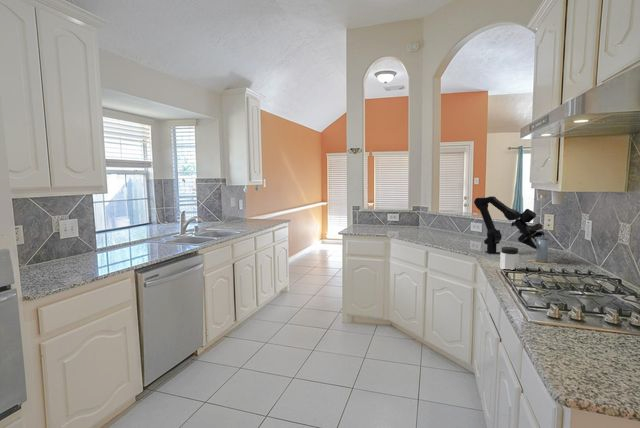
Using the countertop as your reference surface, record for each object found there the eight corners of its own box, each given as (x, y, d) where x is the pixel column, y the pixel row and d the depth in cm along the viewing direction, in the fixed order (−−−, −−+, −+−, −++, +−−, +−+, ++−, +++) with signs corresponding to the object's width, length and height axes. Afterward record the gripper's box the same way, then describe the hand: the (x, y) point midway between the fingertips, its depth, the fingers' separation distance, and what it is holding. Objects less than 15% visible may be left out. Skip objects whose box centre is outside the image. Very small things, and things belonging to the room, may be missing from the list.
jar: (512, 272, 189) (513, 250, 188) (497, 269, 196) (498, 248, 195) (520, 269, 194) (521, 248, 193) (506, 266, 201) (506, 246, 199)
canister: (533, 260, 210) (534, 234, 209) (543, 260, 211) (544, 234, 209) (539, 263, 204) (541, 236, 203) (550, 262, 204) (551, 236, 203)
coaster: (525, 260, 213) (525, 259, 213) (544, 260, 214) (544, 259, 214) (538, 265, 201) (538, 264, 201) (558, 265, 202) (558, 264, 202)
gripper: (523, 220, 206) (541, 241, 197) (542, 218, 215) (560, 238, 206) (510, 231, 214) (527, 252, 205) (529, 229, 222) (546, 249, 213)
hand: (541, 247), depth 207 cm, fingers open, 9 cm apart
